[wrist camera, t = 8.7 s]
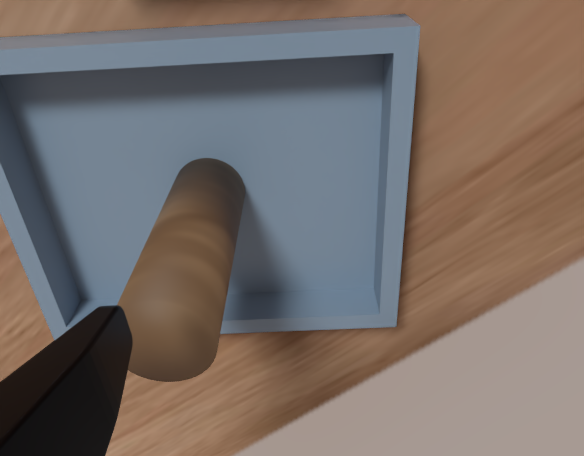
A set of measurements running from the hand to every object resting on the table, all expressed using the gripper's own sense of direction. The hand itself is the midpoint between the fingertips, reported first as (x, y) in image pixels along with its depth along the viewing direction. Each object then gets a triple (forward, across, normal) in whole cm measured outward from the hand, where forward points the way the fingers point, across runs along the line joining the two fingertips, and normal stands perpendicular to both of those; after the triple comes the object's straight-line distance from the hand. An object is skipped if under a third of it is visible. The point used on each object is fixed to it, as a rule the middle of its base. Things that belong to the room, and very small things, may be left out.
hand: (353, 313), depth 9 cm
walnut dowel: (+11, +5, +3) cm, 13 cm away
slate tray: (+12, +5, +3) cm, 13 cm away
